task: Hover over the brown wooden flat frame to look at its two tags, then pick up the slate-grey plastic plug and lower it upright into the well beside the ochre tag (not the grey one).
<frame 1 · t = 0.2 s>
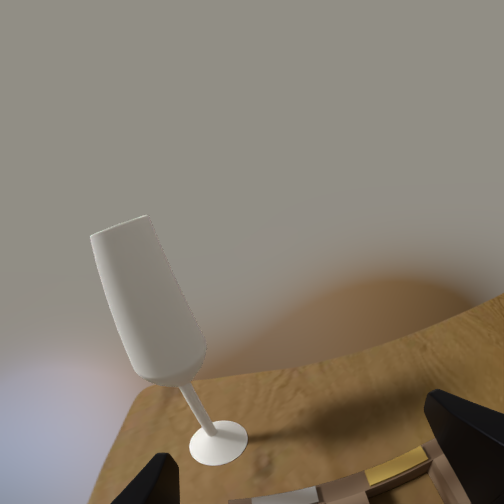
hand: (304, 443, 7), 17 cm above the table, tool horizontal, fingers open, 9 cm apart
champagne flute: (218, 442, 25), on the table
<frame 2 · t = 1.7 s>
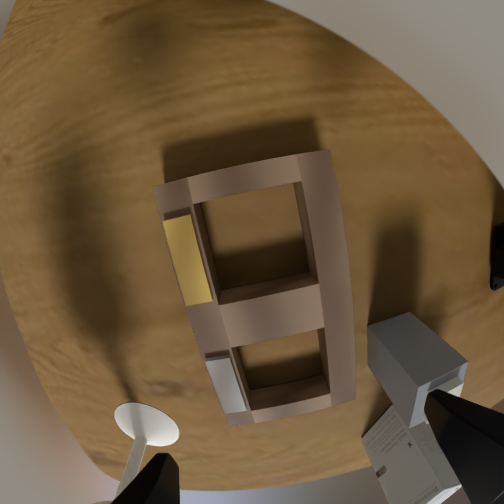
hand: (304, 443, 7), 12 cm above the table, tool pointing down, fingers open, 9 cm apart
champagne flute: (146, 424, 22), on the table
plug: (388, 339, 20), on the table
brown wooden flat frame: (269, 301, 19), on the table
skincare box: (388, 422, 23), on the table
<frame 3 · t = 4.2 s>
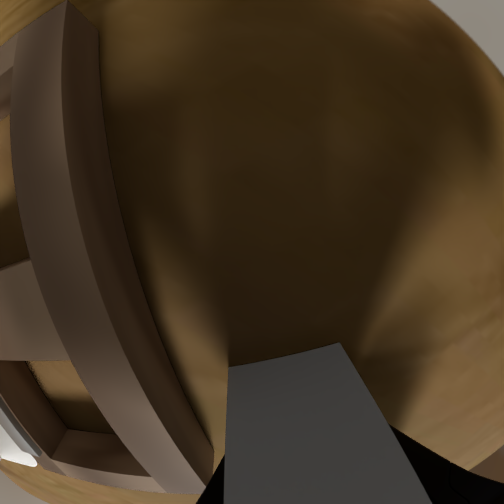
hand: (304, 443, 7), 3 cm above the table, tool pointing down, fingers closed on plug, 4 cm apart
champagne flute: (6, 438, 11), on the table
plug: (292, 395, 10), on the table, touching gripper
brown wooden flat frame: (35, 295, 8), on the table
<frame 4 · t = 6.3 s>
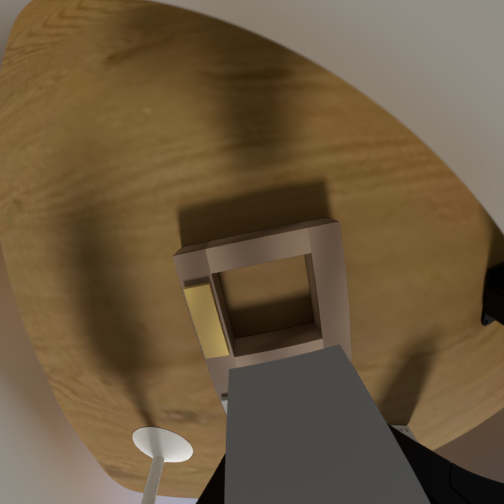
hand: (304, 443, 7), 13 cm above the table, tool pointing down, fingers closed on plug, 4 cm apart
champagne flute: (162, 444, 23), on the table
plug: (292, 397, 10), point 10 cm above the table, touching gripper
brown wooden flat frame: (277, 347, 21), on the table
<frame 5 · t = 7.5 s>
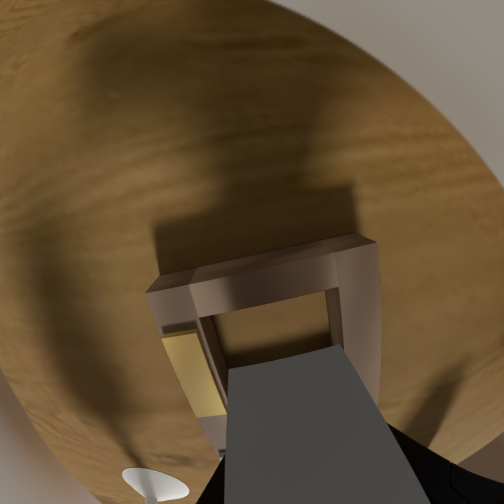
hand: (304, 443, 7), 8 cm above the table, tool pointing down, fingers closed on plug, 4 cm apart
champagne flute: (155, 483, 18), on the table
plug: (292, 397, 10), point 5 cm above the table, touching gripper
brown wooden flat frame: (287, 393, 16), on the table
when the fingers open (4 cm above the table, at t = 8.6 s): plug drops 2 cm, resting in brown wooden flat frame.
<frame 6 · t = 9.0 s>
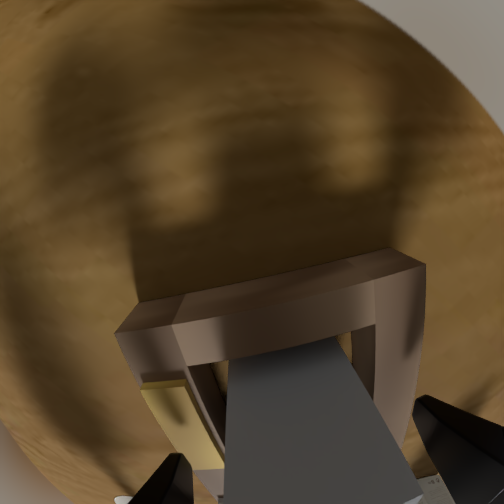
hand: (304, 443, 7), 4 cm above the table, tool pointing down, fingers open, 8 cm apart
plug: (286, 374, 11), resting in brown wooden flat frame
brown wooden flat frame: (298, 434, 12), on the table
skincare box: (408, 491, 16), on the table
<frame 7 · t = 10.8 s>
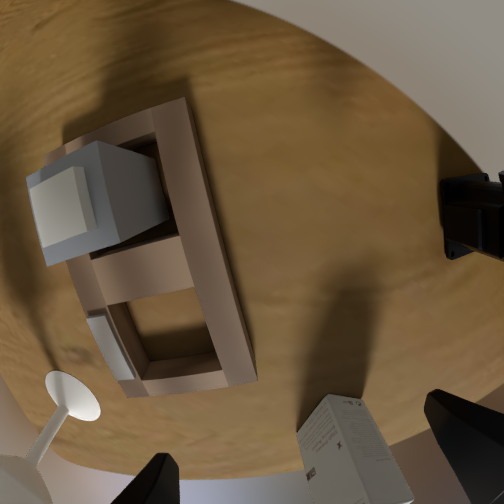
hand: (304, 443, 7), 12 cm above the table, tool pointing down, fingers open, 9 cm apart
champagne flute: (72, 396, 21), on the table
plug: (134, 197, 17), resting in brown wooden flat frame
brown wooden flat frame: (151, 262, 18), on the table
skincare box: (328, 417, 22), on the table
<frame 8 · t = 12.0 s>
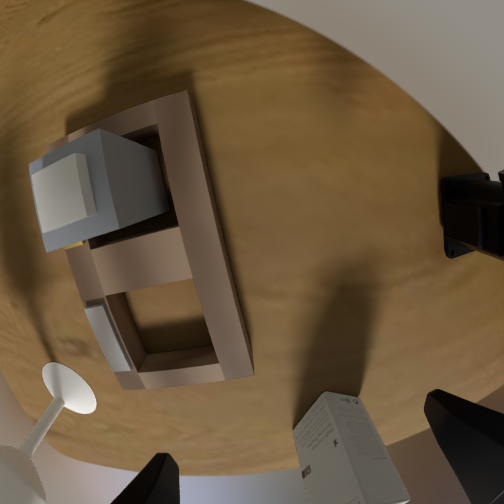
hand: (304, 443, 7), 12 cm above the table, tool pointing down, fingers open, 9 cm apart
champagne flute: (68, 388, 21), on the table
plug: (135, 188, 17), resting in brown wooden flat frame
brown wooden flat frame: (150, 253, 18), on the table
skincare box: (325, 414, 22), on the table
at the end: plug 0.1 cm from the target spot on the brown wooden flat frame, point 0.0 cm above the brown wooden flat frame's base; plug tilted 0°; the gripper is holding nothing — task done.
